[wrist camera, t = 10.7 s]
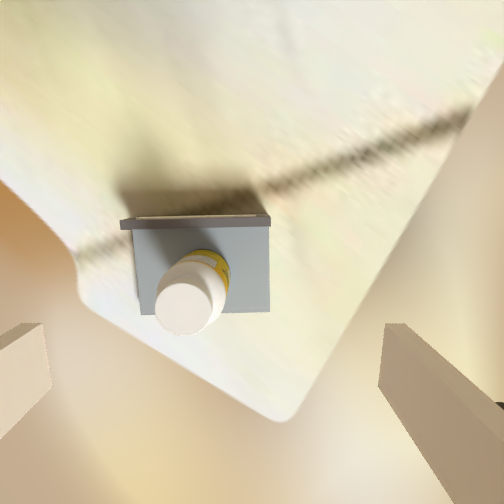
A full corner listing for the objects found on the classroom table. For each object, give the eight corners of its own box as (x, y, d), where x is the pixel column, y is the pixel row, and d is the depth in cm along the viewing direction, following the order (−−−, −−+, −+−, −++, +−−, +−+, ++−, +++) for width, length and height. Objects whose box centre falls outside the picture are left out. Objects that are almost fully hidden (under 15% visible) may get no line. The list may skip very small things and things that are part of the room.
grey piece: (137, 215, 36) (119, 219, 31) (267, 212, 36) (270, 215, 31) (146, 308, 38) (131, 325, 33) (268, 305, 38) (271, 322, 33)
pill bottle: (211, 309, 36) (194, 361, 25) (167, 280, 35) (127, 320, 24) (242, 267, 35) (237, 301, 24) (196, 236, 34) (170, 256, 23)
